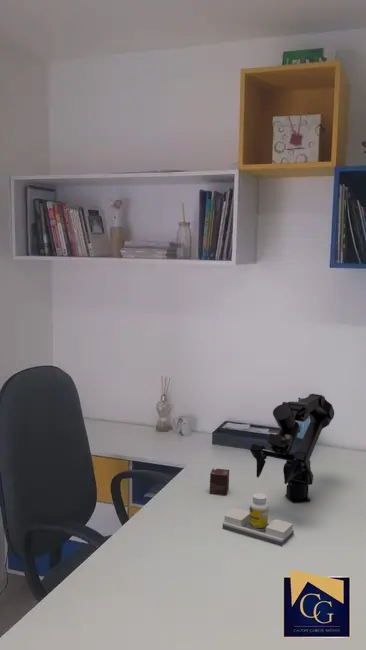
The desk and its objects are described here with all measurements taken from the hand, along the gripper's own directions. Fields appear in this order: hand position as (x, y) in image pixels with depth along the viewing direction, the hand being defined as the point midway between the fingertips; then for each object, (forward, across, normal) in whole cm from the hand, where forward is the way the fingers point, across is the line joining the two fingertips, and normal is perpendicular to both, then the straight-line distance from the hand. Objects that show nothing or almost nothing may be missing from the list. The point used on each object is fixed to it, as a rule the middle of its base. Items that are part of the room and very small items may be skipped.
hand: (271, 480), depth 186 cm
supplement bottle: (+14, 0, +3) cm, 15 cm away
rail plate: (+15, 0, +4) cm, 16 cm away
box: (+1, -24, +19) cm, 31 cm away
